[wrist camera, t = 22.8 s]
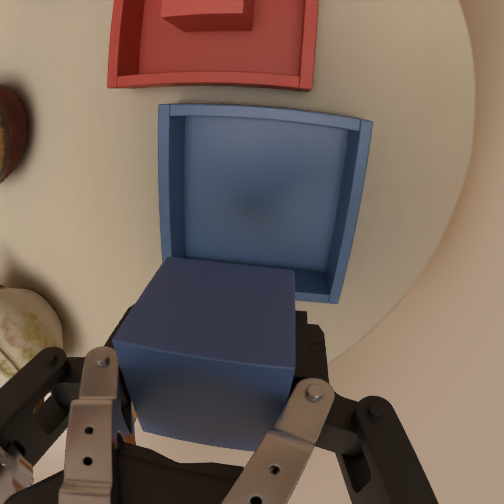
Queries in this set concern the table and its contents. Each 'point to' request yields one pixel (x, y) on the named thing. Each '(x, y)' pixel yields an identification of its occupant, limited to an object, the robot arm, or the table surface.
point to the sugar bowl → (25, 330)
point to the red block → (209, 14)
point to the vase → (11, 131)
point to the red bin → (214, 48)
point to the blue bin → (262, 189)
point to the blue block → (210, 351)
